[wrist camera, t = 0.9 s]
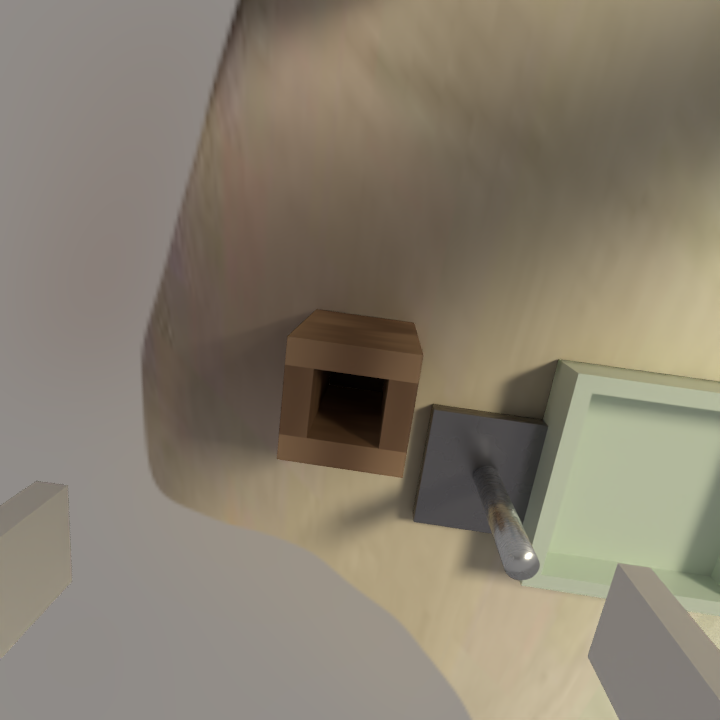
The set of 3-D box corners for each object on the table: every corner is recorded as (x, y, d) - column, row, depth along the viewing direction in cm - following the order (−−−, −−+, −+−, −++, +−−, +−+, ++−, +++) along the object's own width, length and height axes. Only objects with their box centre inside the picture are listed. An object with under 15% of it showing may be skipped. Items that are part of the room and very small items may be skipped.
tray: (793, 391, 27) (842, 410, 24) (714, 584, 30) (748, 620, 27) (558, 359, 27) (578, 373, 24) (508, 552, 31) (521, 585, 28)
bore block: (414, 322, 27) (423, 355, 19) (399, 414, 29) (402, 477, 21) (316, 309, 27) (287, 336, 19) (307, 400, 29) (276, 458, 21)
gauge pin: (558, 422, 28) (634, 503, 19) (530, 530, 30) (586, 647, 21) (432, 403, 28) (451, 476, 20) (412, 512, 30) (421, 621, 22)
